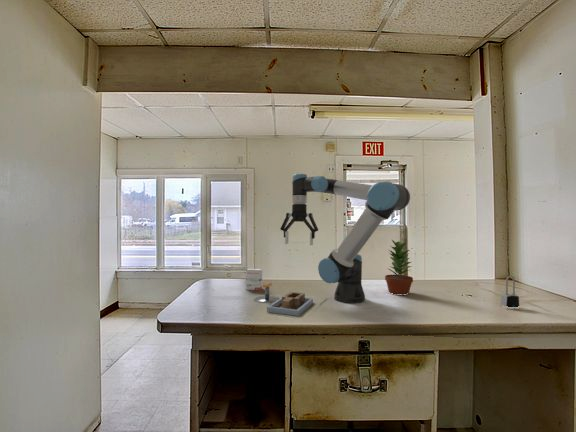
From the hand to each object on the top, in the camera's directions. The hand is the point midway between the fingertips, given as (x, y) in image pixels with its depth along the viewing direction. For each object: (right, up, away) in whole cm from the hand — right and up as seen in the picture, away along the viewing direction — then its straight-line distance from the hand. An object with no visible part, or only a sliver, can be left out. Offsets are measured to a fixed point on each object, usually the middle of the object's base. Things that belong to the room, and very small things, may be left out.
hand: (298, 244), depth 163 cm
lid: (-16, -27, -12) cm, 33 cm away
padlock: (+98, -28, -18) cm, 103 cm away
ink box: (-25, -27, +9) cm, 37 cm away
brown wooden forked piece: (-4, -26, -24) cm, 35 cm away
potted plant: (+55, -28, +8) cm, 63 cm away
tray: (-4, -27, -24) cm, 36 cm away
